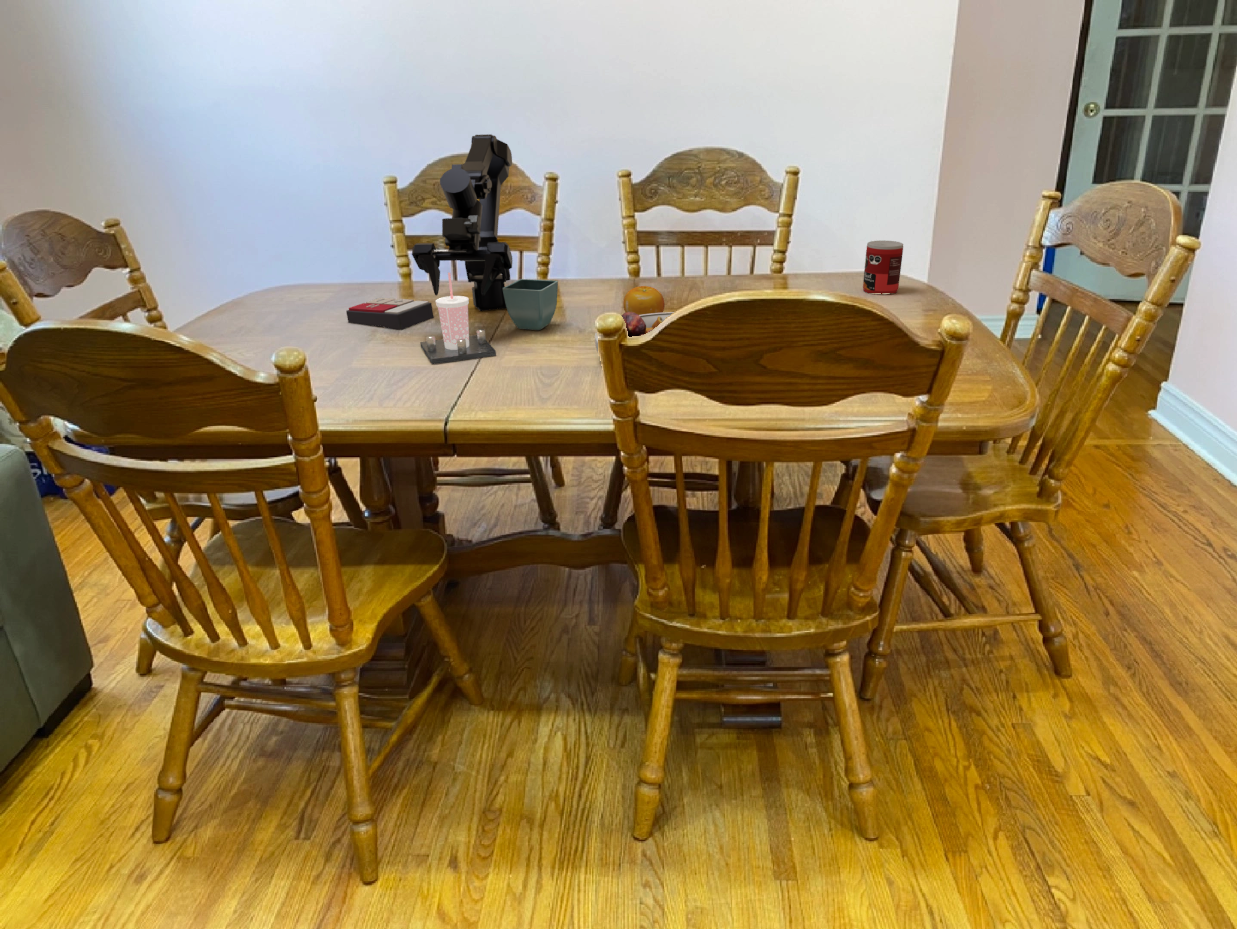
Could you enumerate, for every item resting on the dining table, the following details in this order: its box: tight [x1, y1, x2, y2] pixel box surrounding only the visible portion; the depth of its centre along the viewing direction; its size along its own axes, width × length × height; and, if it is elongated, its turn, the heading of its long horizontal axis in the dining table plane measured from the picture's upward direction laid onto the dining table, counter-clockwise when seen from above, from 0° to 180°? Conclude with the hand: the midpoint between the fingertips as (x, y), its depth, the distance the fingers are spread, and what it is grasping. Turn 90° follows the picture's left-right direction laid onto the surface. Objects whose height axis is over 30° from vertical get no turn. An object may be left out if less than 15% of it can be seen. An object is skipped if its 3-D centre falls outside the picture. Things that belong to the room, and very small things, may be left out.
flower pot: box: [503, 278, 559, 331], centre depth 174 cm, size 9×9×9 cm
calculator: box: [346, 297, 435, 331], centre depth 183 cm, size 11×4×15 cm
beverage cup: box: [435, 271, 470, 350], centre depth 158 cm, size 6×6×14 cm
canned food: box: [862, 240, 904, 294], centre depth 194 cm, size 8×8×11 cm
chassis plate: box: [419, 328, 497, 365], centre depth 161 cm, size 12×12×4 cm
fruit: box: [622, 285, 666, 315], centre depth 178 cm, size 8×8×8 cm
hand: (459, 294), depth 162 cm, fingers open, 9 cm apart
